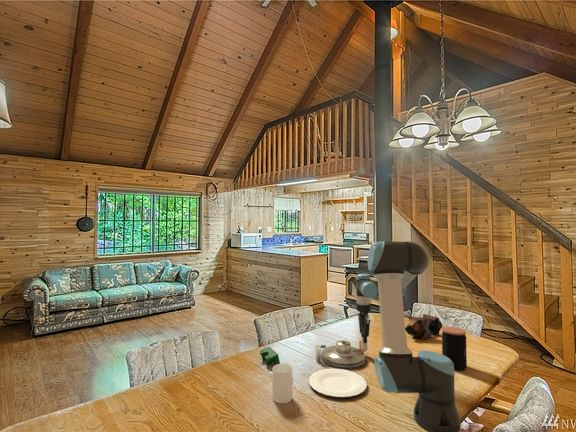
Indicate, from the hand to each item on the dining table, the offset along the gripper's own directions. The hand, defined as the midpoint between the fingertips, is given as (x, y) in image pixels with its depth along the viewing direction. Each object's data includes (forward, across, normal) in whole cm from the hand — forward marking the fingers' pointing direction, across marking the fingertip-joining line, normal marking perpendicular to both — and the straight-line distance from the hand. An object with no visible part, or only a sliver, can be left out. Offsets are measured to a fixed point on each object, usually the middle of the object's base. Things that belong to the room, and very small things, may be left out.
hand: (364, 348), depth 169 cm
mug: (+5, -33, +47) cm, 58 cm away
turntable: (+3, -1, +11) cm, 11 cm away
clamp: (+4, -1, +50) cm, 51 cm away
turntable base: (+4, -2, +12) cm, 13 cm away
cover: (+1, -1, +12) cm, 12 cm away
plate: (+5, -27, +22) cm, 35 cm away
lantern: (+5, +27, -45) cm, 53 cm away
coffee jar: (+5, -15, -40) cm, 43 cm away
